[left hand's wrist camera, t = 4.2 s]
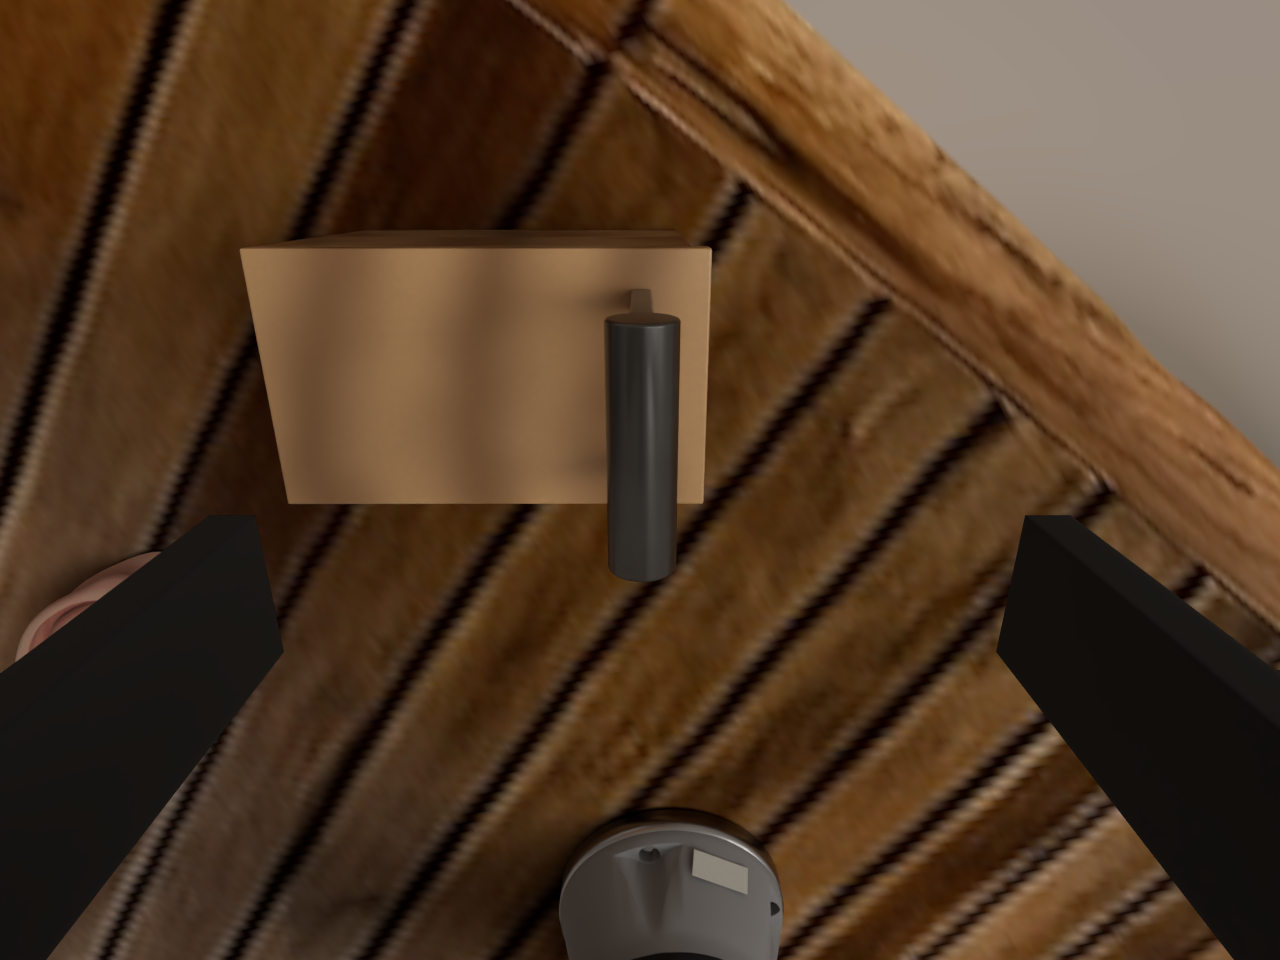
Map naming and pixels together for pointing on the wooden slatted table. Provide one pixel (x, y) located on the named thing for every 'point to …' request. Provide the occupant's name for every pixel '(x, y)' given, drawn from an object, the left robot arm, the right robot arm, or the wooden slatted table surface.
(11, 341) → the wooden slatted table surface
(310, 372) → the lid
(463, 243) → the chest
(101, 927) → the wooden slatted table surface
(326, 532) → the wooden slatted table surface
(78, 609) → the anatomical model
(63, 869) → the left robot arm
